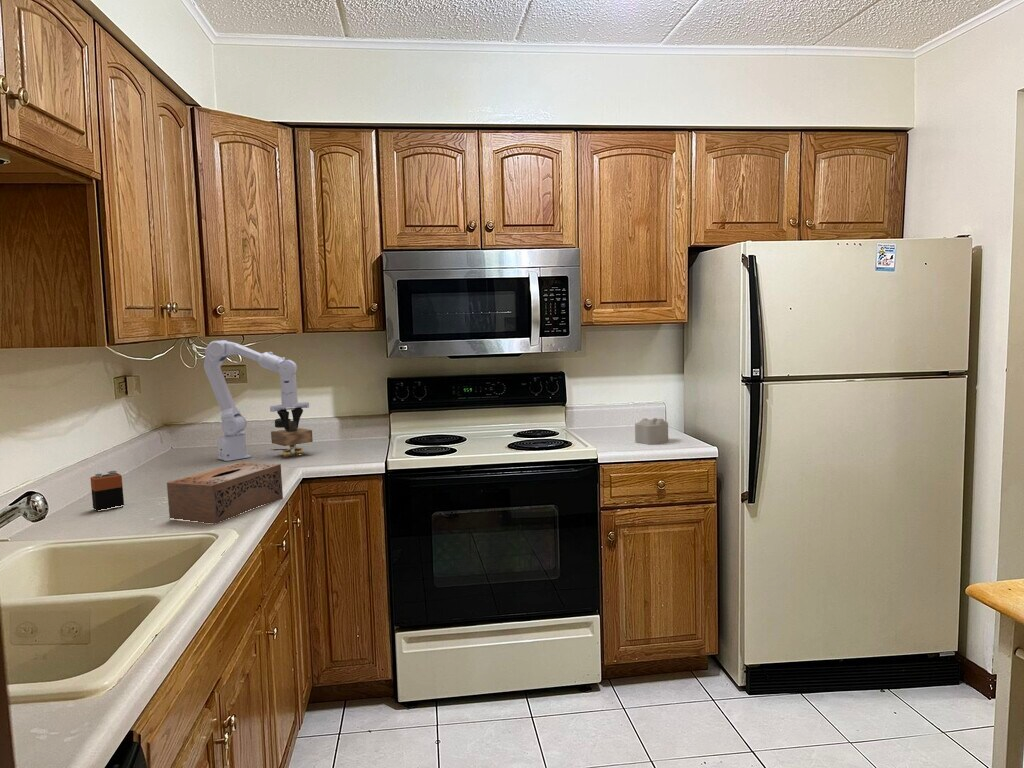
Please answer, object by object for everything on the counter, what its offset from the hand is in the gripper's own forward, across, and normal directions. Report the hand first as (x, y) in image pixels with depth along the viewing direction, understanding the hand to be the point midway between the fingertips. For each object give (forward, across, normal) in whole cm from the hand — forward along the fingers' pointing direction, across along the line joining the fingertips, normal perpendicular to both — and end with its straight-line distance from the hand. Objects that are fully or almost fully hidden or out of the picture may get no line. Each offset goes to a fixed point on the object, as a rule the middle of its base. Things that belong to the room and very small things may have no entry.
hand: (291, 428), depth 261 cm
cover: (+5, 0, 0) cm, 5 cm away
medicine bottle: (+10, +5, +18) cm, 21 cm away
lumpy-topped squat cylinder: (+10, +102, -90) cm, 136 cm away
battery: (+10, -69, -32) cm, 77 cm away
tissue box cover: (+11, -47, -60) cm, 76 cm away
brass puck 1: (+10, -2, 0) cm, 10 cm away
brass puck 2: (+10, +2, 0) cm, 10 cm away
